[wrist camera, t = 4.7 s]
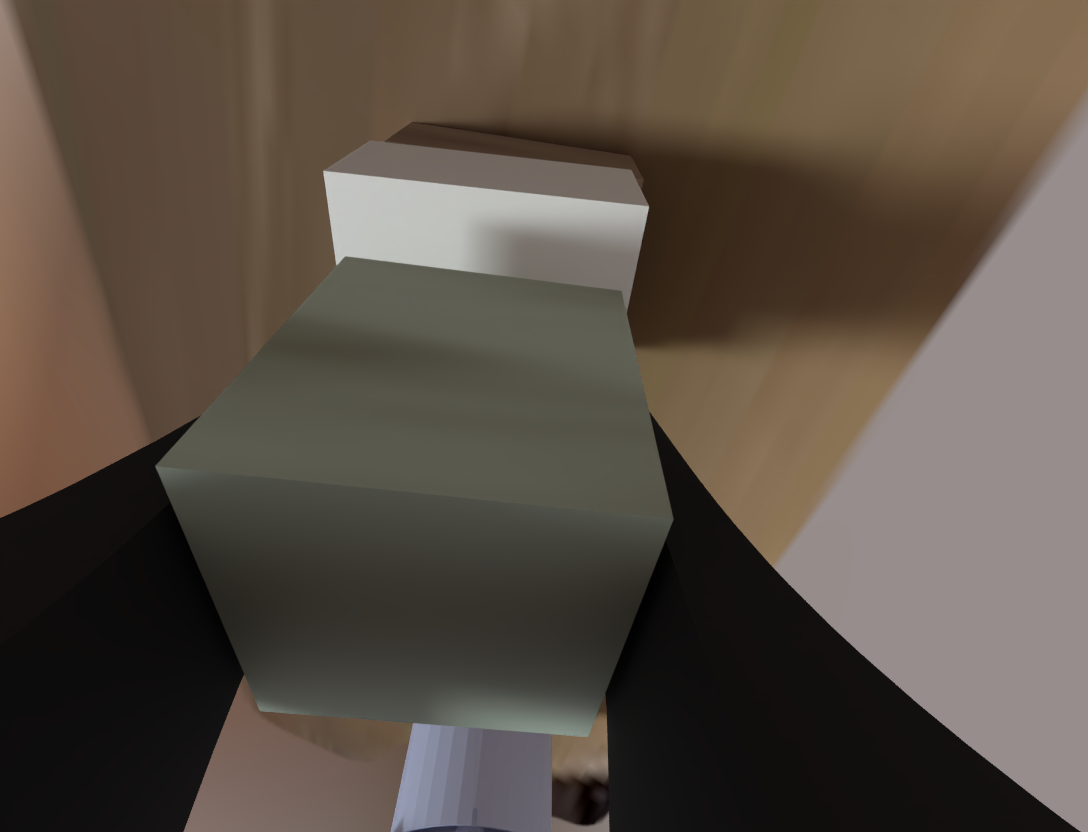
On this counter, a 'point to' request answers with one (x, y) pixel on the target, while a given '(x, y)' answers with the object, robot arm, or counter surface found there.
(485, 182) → the top slab
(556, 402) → the green block
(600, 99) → the counter surface
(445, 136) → the base slab
